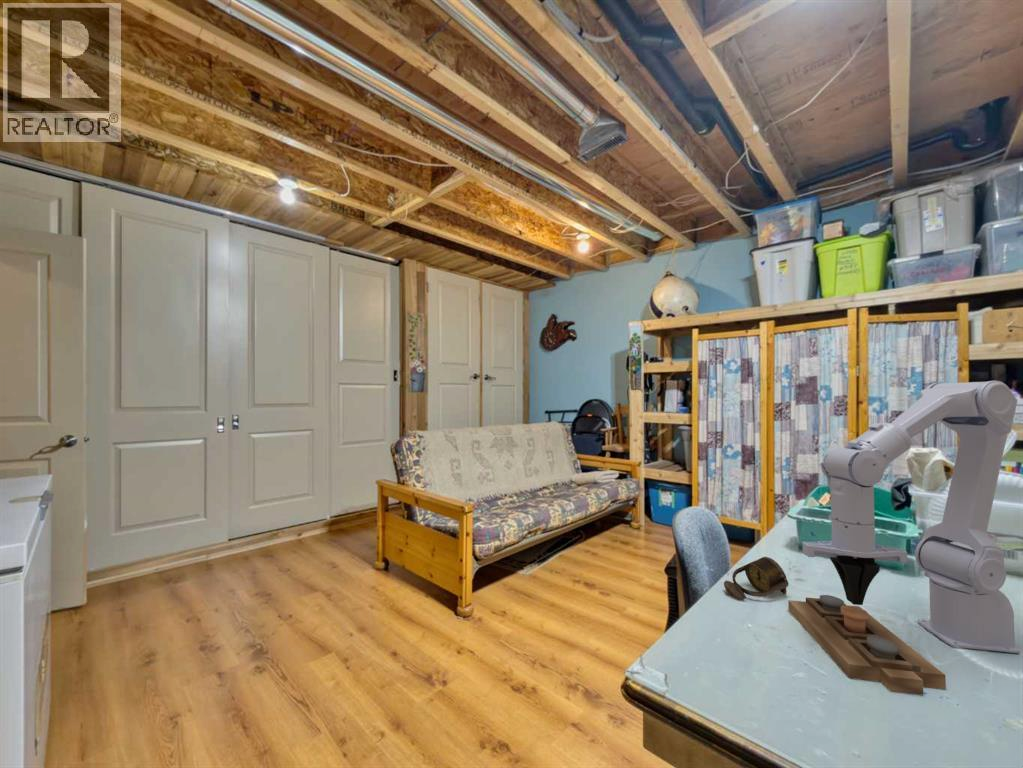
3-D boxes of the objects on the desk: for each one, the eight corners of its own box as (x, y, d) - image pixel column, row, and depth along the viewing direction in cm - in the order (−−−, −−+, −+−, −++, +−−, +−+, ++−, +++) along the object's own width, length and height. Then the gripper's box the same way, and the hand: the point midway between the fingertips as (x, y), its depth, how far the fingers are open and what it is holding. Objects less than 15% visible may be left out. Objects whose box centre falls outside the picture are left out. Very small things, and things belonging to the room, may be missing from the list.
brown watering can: (803, 580, 83) (777, 550, 93) (736, 571, 84) (717, 543, 94) (796, 612, 85) (771, 580, 95) (730, 603, 86) (712, 572, 96)
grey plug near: (888, 660, 65) (887, 637, 65) (905, 675, 62) (904, 651, 62) (861, 657, 66) (861, 634, 66) (876, 671, 62) (876, 648, 63)
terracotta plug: (860, 626, 72) (860, 606, 72) (874, 638, 69) (873, 617, 69) (836, 624, 73) (836, 604, 73) (848, 635, 69) (848, 614, 69)
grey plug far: (837, 614, 79) (837, 595, 79) (848, 624, 75) (848, 605, 76) (816, 612, 80) (815, 594, 80) (826, 622, 76) (825, 603, 76)
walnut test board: (853, 612, 81) (852, 597, 81) (957, 699, 58) (957, 678, 58) (784, 605, 84) (783, 591, 84) (857, 687, 60) (857, 666, 60)
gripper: (886, 515, 74) (888, 594, 73) (793, 511, 77) (795, 587, 76) (916, 528, 67) (918, 615, 67) (813, 522, 70) (815, 606, 69)
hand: (854, 602), depth 71 cm, fingers closed
